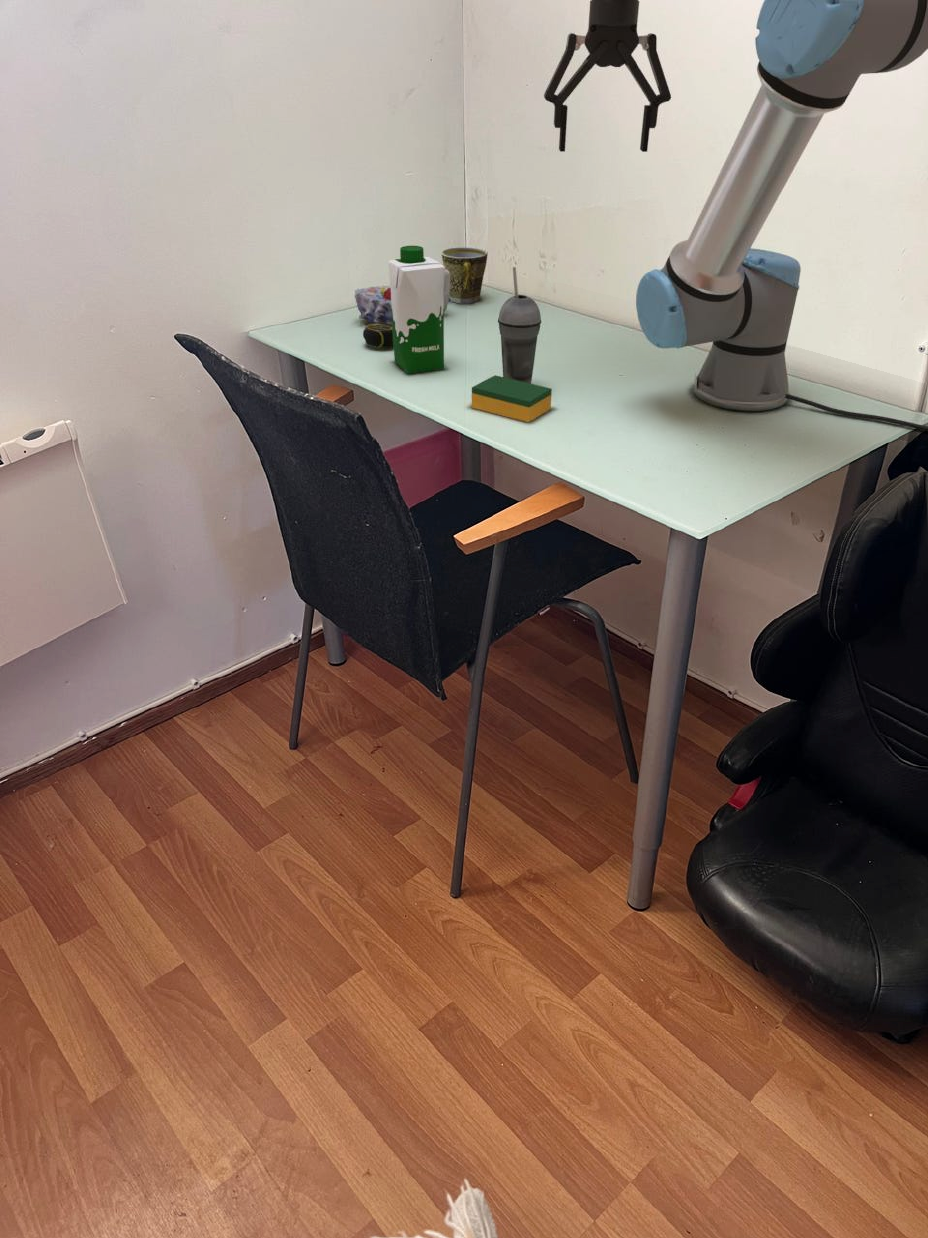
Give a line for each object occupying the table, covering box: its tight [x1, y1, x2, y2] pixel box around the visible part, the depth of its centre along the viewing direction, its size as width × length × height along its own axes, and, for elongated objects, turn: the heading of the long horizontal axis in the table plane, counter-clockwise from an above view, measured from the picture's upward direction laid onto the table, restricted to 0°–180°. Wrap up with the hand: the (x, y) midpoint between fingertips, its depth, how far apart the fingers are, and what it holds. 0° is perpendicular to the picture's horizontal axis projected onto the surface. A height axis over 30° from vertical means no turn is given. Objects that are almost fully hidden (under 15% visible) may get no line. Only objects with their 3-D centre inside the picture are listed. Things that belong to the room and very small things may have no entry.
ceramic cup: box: [441, 246, 489, 305], centre depth 199 cm, size 13×10×10 cm
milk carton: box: [388, 245, 445, 375], centre depth 161 cm, size 9×9×20 cm
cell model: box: [354, 269, 450, 325], centre depth 188 cm, size 13×11×20 cm
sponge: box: [471, 375, 553, 423], centre depth 149 cm, size 11×7×4 cm, turn 55°
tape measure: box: [362, 322, 393, 349], centre depth 176 cm, size 7×7×4 cm
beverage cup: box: [497, 266, 542, 384], centre depth 152 cm, size 7×7×20 cm
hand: (602, 150), depth 152 cm, fingers open, 13 cm apart
